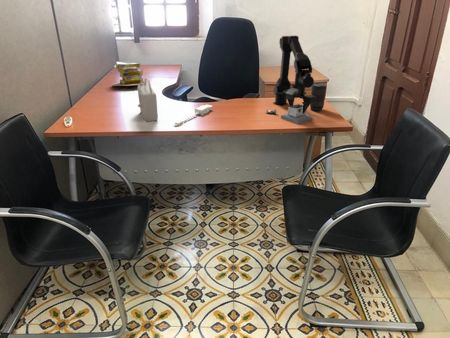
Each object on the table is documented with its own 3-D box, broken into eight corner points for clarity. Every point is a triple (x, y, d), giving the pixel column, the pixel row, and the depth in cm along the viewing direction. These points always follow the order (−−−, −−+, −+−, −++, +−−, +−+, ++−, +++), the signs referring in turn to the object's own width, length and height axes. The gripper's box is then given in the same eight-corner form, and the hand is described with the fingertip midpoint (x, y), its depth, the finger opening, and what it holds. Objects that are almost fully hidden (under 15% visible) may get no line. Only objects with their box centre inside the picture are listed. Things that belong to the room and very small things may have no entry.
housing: (287, 115, 190) (288, 106, 187) (297, 112, 194) (298, 103, 192) (296, 118, 185) (296, 109, 183) (305, 115, 190) (306, 106, 188)
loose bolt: (266, 113, 198) (266, 109, 196) (266, 112, 200) (267, 108, 199) (275, 114, 196) (275, 110, 195) (276, 113, 199) (276, 108, 197)
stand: (280, 118, 191) (281, 114, 190) (295, 113, 198) (295, 110, 197) (297, 124, 183) (298, 120, 182) (312, 119, 190) (312, 115, 189)
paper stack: (113, 82, 258) (109, 59, 250) (147, 80, 263) (144, 58, 255) (111, 91, 237) (108, 66, 229) (148, 89, 242) (146, 64, 234)
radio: (137, 111, 201) (132, 67, 189) (151, 109, 204) (147, 66, 192) (143, 123, 183) (138, 76, 171) (159, 122, 185) (154, 74, 174)
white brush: (171, 127, 182) (170, 121, 180) (206, 108, 205) (205, 103, 204) (179, 129, 179) (178, 123, 178) (213, 109, 203) (212, 104, 201)
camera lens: (306, 108, 206) (309, 83, 199) (318, 107, 209) (321, 82, 202) (314, 112, 200) (317, 86, 193) (326, 111, 202) (329, 85, 195)
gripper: (276, 81, 183) (274, 110, 191) (304, 89, 170) (300, 119, 178) (290, 78, 189) (288, 106, 197) (318, 85, 177) (314, 114, 184)
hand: (297, 111), depth 189 cm, fingers open, 8 cm apart
